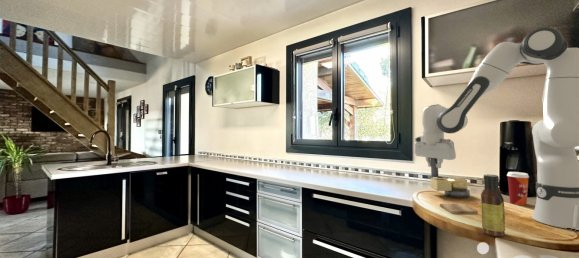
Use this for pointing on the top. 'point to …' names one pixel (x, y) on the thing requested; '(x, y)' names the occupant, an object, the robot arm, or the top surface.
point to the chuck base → (458, 194)
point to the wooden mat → (458, 209)
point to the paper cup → (518, 187)
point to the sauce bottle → (492, 207)
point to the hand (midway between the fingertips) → (434, 167)
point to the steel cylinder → (434, 167)
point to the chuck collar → (448, 184)
